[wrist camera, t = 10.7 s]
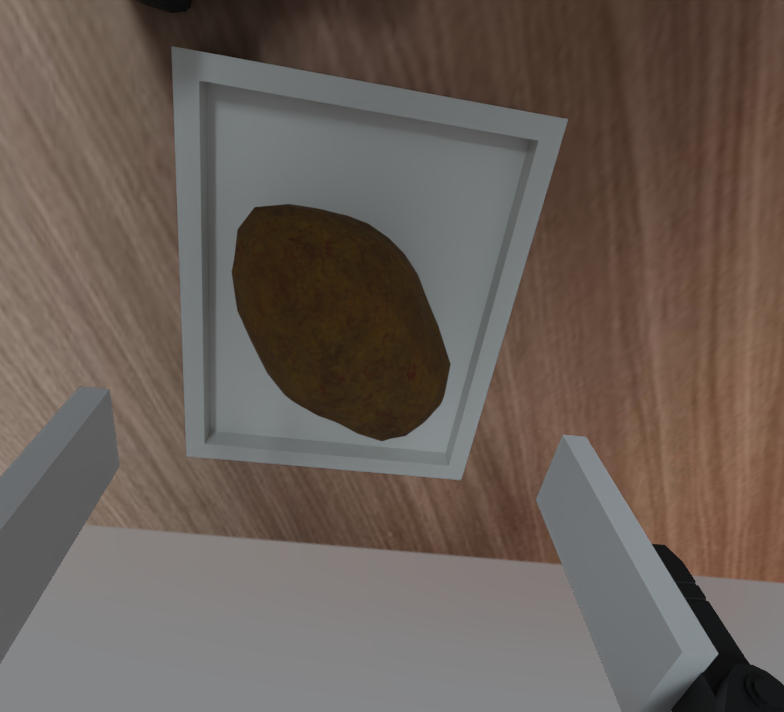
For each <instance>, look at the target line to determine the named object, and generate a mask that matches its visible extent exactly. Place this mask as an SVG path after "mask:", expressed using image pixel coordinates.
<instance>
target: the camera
mask: <svg viewBox="0 0 784 712" xmlns="http://www.w3.org/2000/svg"><path fill="white" fill-rule="evenodd" d="M136 1H139V2H142V3H144V4H146V5H149V6H152V7H155V8H158V9H161V10H164V11H167V12H170V13H178V12H185V11H187V10H188V9H189V8H190V5H191V0H136Z"/></svg>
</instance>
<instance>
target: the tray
mask: <svg viewBox="0 0 784 712" xmlns="http://www.w3.org/2000/svg"><path fill="white" fill-rule="evenodd" d="M171 50H172V78H173V105H174V132H175V160H176V187H177V215H178V242H179V269H180V297H181V324H182V351H183V379H184V406H185V434H186V456H189V457H200V458H212V459H223V460H235V461H246V462H258V463H270V464H281V465H293V466H304V467H316V468H328V469H339V470H351V471H362V472H374V473H385V474H397V475H409V476H420V477H432V478H443V479H455V480H461V479H462V476H463V473H464V469H465V466H466V462H467V459H468V456H469V452H470V449H471V446H472V442H473V439H474V435H475V432H476V429H477V425H478V422H479V419H480V415H481V412H482V408H483V405H484V402H485V398H486V395H487V392H488V388H489V385H490V381H491V378H492V375H493V371H494V368H495V365H496V361H497V358H498V354H499V351H500V348H501V344H502V341H503V338H504V334H505V331H506V328H507V324H508V321H509V317H510V314H511V311H512V307H513V304H514V301H515V297H516V294H517V290H518V287H519V284H520V280H521V277H522V274H523V270H524V267H525V263H526V260H527V257H528V253H529V250H530V247H531V243H532V240H533V236H534V233H535V230H536V226H537V223H538V220H539V216H540V213H541V209H542V206H543V203H544V199H545V196H546V193H547V189H548V186H549V182H550V179H551V176H552V172H553V169H554V166H555V162H556V159H557V155H558V152H559V149H560V145H561V142H562V139H563V135H564V132H565V129H566V125H567V122H568V119H564V118H559V117H554V116H548V115H543V114H538V113H532V112H527V111H521V110H516V109H511V108H505V107H500V106H494V105H489V104H483V103H478V102H473V101H467V100H462V99H456V98H451V97H445V96H440V95H435V94H429V93H424V92H418V91H413V90H408V89H402V88H397V87H391V86H386V85H380V84H375V83H370V82H364V81H359V80H353V79H348V78H342V77H337V76H332V75H326V74H321V73H315V72H310V71H304V70H299V69H294V68H288V67H283V66H277V65H272V64H266V63H261V62H256V61H250V60H245V59H239V58H234V57H229V56H223V55H218V54H212V53H207V52H201V51H196V50H190V49H185V48H179V47H174V46H171ZM283 204H293V205H299V206H305V207H312V208H318V209H323V210H326V211H330V212H334V213H338V214H343V215H347V216H350V217H353V218H355V219H358V220H360V221H363V222H366V223H368V224H370V225H371V226H373V227H374V228H375V229H377V230H378V231H380V232H381V233H383V234H384V235H385V236H387V237H388V238H389V239H390V240H391V241H392V242H393V243H394V244H395V245H396V246H397V247H398V248H399V249H400V250H401V251H402V252H403V253H404V254H405V255H406V257H407V258H408V260H409V261H410V263H411V265H412V266H413V268H414V269H415V271H416V272H417V274H418V276H419V279H420V281H421V284H422V287H423V289H424V292H425V295H426V297H427V300H428V302H429V305H430V307H431V309H432V312H433V314H434V317H435V319H436V321H437V324H438V326H439V329H440V332H441V335H442V339H443V342H444V345H445V348H446V351H447V354H448V358H449V361H450V364H451V365H450V370H449V375H448V380H447V385H446V390H445V395H444V398H443V400H442V403H441V405H440V406H439V407H438V408H437V409H436V410H435V411H434V412H433V414H432V415H431V416H430V417H429V418H428V419H427V420H426V421H425V422H424V423H423V424H421V425H420V426H419V427H417V428H416V429H415V430H413V431H412V432H410V433H409V434H408V435H406V436H403V437H397V438H392V439H388V440H385V441H379V440H376V439H373V438H369V437H366V436H363V435H360V434H357V433H355V432H354V431H352V430H350V429H348V428H346V427H344V426H342V425H341V424H339V423H336V422H334V421H331V420H328V419H326V418H323V417H320V416H317V415H316V414H314V413H312V412H310V411H309V410H307V409H305V408H303V407H302V406H300V405H298V404H296V403H295V402H293V401H292V400H290V399H289V398H288V397H286V396H285V395H284V394H283V392H282V391H281V390H280V389H279V387H278V386H277V385H276V384H275V382H274V381H273V380H272V379H271V377H270V376H269V375H268V374H267V372H266V370H265V368H264V366H263V364H262V362H261V360H260V358H259V356H258V354H257V352H256V350H255V348H254V346H253V344H252V342H251V340H250V338H249V336H248V333H247V331H246V329H245V327H244V324H243V322H242V320H241V318H240V316H239V313H238V311H237V306H236V299H235V292H234V285H233V279H232V267H233V263H234V256H235V247H236V239H237V230H238V228H239V227H240V225H241V224H242V223H243V222H244V220H245V219H246V218H247V216H248V215H249V214H250V212H251V211H252V210H253V209H254V207H262V206H272V205H283Z"/></svg>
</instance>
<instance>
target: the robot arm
mask: <svg viewBox="0 0 784 712" xmlns="http://www.w3.org/2000/svg"><path fill="white" fill-rule="evenodd" d="M119 466H120V465H119V457H118V450H117V442H116V434H115V427H114V419H113V411H112V404H111V396H110V389H101V388H90V387H79V388H78V389H77V390H76V391H75V393H74V394H73V395H72V396H71V397H70V398H69V399H68V400H67V402H66V403H65V404H64V405H63V406H62V407H61V408H60V410H59V411H58V412H57V413H56V414H55V415H54V416H53V418H52V419H51V420H50V421H49V422H48V423H47V424H46V426H45V427H44V428H43V429H42V430H41V431H40V432H39V434H38V435H37V436H36V437H35V438H34V439H33V440H32V442H31V443H30V444H29V445H28V446H27V447H26V448H25V450H24V451H23V452H22V453H21V454H20V455H19V456H18V458H17V459H16V460H15V461H14V462H13V463H12V464H11V465H10V467H9V468H8V469H7V470H6V471H5V472H4V473H3V475H2V476H1V477H0V663H1V662H2V660H3V658H4V657H5V655H6V653H7V652H8V650H9V648H10V647H11V645H12V643H13V642H14V640H15V638H16V637H17V635H18V633H19V632H20V630H21V628H22V627H23V625H24V623H25V622H26V620H27V618H28V617H29V615H30V614H31V612H32V610H33V609H34V607H35V605H36V604H37V602H38V600H39V599H40V597H41V595H42V593H43V591H44V590H45V588H46V587H47V585H48V584H49V582H50V580H51V579H52V577H53V575H54V574H55V572H56V570H57V569H58V567H59V565H60V564H61V562H62V560H63V559H64V557H65V555H66V554H67V552H68V550H69V549H70V547H71V546H72V544H73V542H74V541H75V539H76V537H77V535H78V534H79V532H80V530H81V529H82V527H83V526H84V524H85V522H86V521H87V519H88V517H89V516H90V514H91V512H92V511H93V509H94V507H95V506H96V504H97V502H98V501H99V499H100V497H101V496H102V494H103V492H104V491H105V489H106V487H107V486H108V484H109V482H110V481H111V479H112V478H113V476H114V474H115V473H116V471H117V469H118V468H119ZM536 502H537V504H538V507H539V509H540V511H541V514H542V516H543V519H544V521H545V524H546V526H547V529H548V531H549V534H550V536H551V539H552V541H553V544H554V546H555V548H556V551H557V553H558V556H559V558H560V561H561V563H562V566H563V568H564V571H565V573H566V576H567V578H568V581H569V583H570V585H571V588H572V590H573V593H574V595H575V598H576V600H577V602H578V605H579V608H580V610H581V612H582V615H583V618H584V620H585V622H586V625H587V627H588V630H589V632H590V635H591V637H592V640H593V642H594V645H595V647H596V650H597V652H598V654H599V657H600V659H601V662H602V664H603V667H604V669H605V672H606V674H607V677H608V679H609V682H610V684H611V687H612V689H613V691H614V694H615V696H616V699H617V701H618V704H619V706H620V708H621V711H622V712H671V711H672V712H784V685H783V684H782V683H781V682H780V681H778V680H777V679H776V678H774V677H773V676H772V675H771V674H769V673H768V672H766V671H764V670H762V669H760V668H758V667H756V666H754V665H750V664H749V662H748V661H747V660H746V658H745V657H744V655H743V654H742V652H741V651H740V649H739V647H738V646H737V644H736V643H735V641H734V640H733V638H732V637H731V635H730V634H729V632H728V631H727V629H726V628H725V626H724V624H723V623H722V621H721V620H720V618H719V617H718V615H717V614H716V612H715V611H714V609H713V608H712V606H711V604H710V603H709V602H708V601H706V597H705V595H704V594H703V592H702V591H701V589H700V588H699V586H698V585H696V584H695V580H694V579H693V577H692V575H691V574H690V572H689V571H688V569H687V568H686V566H685V565H684V563H683V562H682V561H681V560H680V559H679V558H678V557H677V556H676V555H675V554H674V553H673V552H672V551H671V550H670V549H669V548H667V547H666V546H665V545H658V544H651V542H650V541H649V539H648V537H647V536H646V534H645V533H644V531H643V529H642V528H641V526H640V524H639V523H638V521H637V519H636V518H635V516H634V515H633V513H632V511H631V510H630V508H629V506H628V505H627V503H626V501H625V500H624V498H623V497H622V495H621V493H620V492H619V490H618V488H617V487H616V485H615V483H614V482H613V480H612V479H611V477H610V475H609V474H608V472H607V470H606V469H605V467H604V465H603V464H602V462H601V460H600V459H599V457H598V456H597V454H596V452H595V451H594V449H593V447H592V446H591V444H590V442H589V441H588V439H587V438H586V437H581V436H571V435H562V438H561V440H560V442H559V445H558V447H557V450H556V452H555V455H554V457H553V459H552V462H551V464H550V467H549V469H548V471H547V474H546V476H545V479H544V481H543V484H542V486H541V488H540V491H539V493H538V496H537V498H536Z"/></svg>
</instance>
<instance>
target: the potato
mask: <svg viewBox="0 0 784 712" xmlns="http://www.w3.org/2000/svg"><path fill="white" fill-rule="evenodd" d="M232 279H233V285H234V292H235V299H236V306H237V311H238V313H239V316H240V318H241V320H242V322H243V324H244V327H245V329H246V331H247V333H248V336H249V338H250V340H251V342H252V344H253V346H254V348H255V350H256V352H257V354H258V356H259V358H260V360H261V362H262V364H263V366H264V368H265V370H266V372H267V374H268V375H269V376H270V377H271V379H272V380H273V381H274V382H275V384H276V385H277V386H278V387H279V389H280V390H281V391H282V392H283V394H284V395H285V396H286V397H288V398H289V399H290V400H292V401H293V402H295V403H296V404H298V405H300V406H302V407H303V408H305V409H307V410H309V411H310V412H312V413H314V414H316V415H317V416H320V417H323V418H326V419H328V420H331V421H334V422H336V423H339V424H341V425H342V426H344V427H346V428H348V429H350V430H352V431H354V432H355V433H357V434H360V435H363V436H366V437H369V438H373V439H376V440H379V441H385V440H388V439H392V438H397V437H403V436H406V435H408V434H409V433H410V432H412V431H413V430H415V429H416V428H417V427H419V426H420V425H421V424H423V423H424V422H425V421H426V420H427V419H428V418H429V417H430V416H431V415H432V414H433V412H434V411H435V410H436V409H437V408H438V407H439V406H440V405H441V403H442V400H443V398H444V395H445V390H446V385H447V380H448V375H449V370H450V365H451V364H450V361H449V358H448V354H447V351H446V348H445V345H444V342H443V339H442V335H441V332H440V329H439V326H438V324H437V321H436V319H435V317H434V314H433V312H432V309H431V307H430V305H429V302H428V300H427V297H426V295H425V292H424V289H423V287H422V284H421V281H420V279H419V276H418V274H417V272H416V271H415V269H414V268H413V266H412V265H411V263H410V261H409V260H408V258H407V257H406V255H405V254H404V253H403V252H402V251H401V250H400V249H399V248H398V247H397V246H396V245H395V244H394V243H393V242H392V241H391V240H390V239H389V238H388V237H387V236H385V235H384V234H383V233H381V232H380V231H378V230H377V229H375V228H374V227H373V226H371V225H370V224H368V223H366V222H363V221H360V220H358V219H355V218H353V217H350V216H347V215H343V214H338V213H334V212H330V211H326V210H323V209H318V208H312V207H305V206H299V205H293V204H283V205H272V206H262V207H254V209H253V210H252V211H251V212H250V214H249V215H248V216H247V218H246V219H245V220H244V222H243V223H242V224H241V225H240V227H239V228H238V230H237V239H236V247H235V256H234V263H233V267H232Z"/></svg>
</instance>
